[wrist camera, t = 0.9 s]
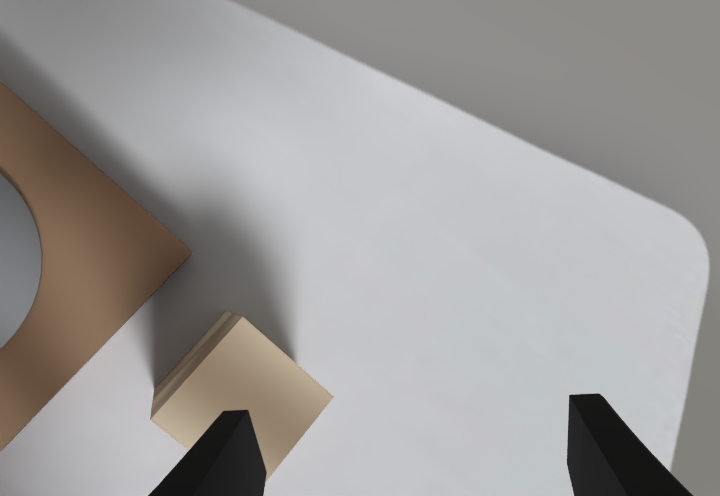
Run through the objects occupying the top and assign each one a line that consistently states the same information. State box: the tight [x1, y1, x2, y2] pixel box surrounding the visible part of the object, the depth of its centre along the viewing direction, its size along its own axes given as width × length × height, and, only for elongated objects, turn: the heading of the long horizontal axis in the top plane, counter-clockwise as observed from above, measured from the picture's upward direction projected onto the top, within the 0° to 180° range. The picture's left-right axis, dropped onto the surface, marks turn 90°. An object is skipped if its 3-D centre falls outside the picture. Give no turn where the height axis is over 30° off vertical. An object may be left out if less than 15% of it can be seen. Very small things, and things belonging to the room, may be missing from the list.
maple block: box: [150, 311, 334, 482], centre depth 22 cm, size 4×4×6 cm
